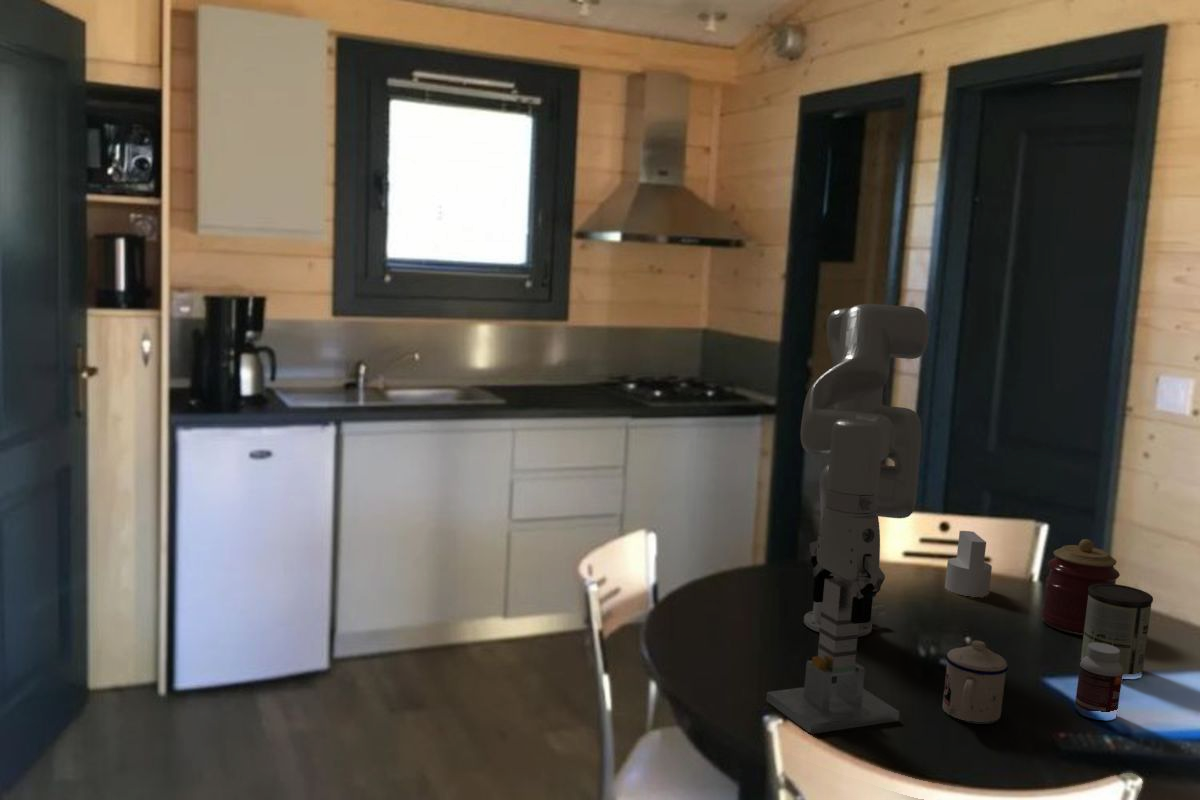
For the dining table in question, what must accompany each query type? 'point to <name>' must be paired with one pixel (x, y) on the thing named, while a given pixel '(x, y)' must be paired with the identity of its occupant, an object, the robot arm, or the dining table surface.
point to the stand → (831, 701)
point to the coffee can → (1118, 622)
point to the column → (838, 627)
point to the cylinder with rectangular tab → (969, 567)
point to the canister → (1074, 583)
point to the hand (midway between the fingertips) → (840, 611)
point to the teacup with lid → (974, 683)
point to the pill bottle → (1099, 679)
